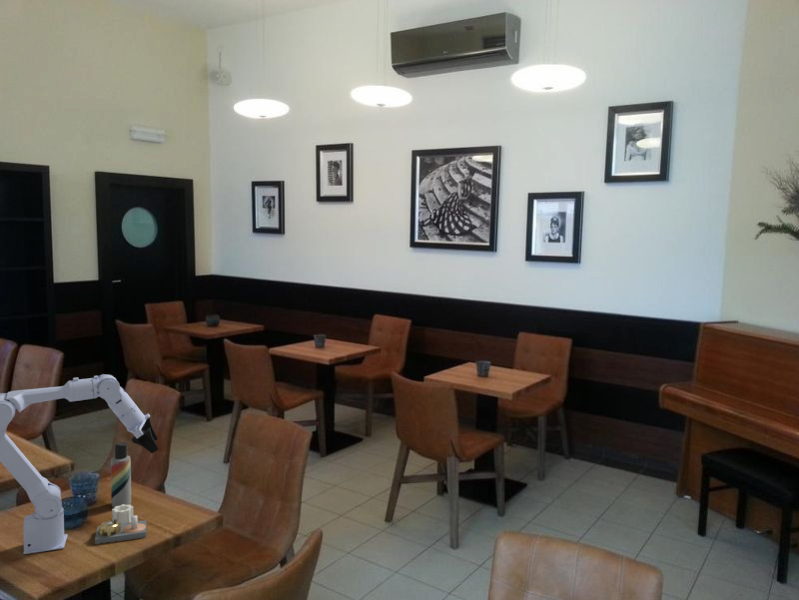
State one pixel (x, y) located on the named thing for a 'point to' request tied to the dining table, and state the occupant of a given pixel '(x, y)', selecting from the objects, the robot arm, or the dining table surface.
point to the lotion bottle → (120, 475)
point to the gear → (109, 528)
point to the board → (125, 532)
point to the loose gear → (122, 513)
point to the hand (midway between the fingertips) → (155, 445)
